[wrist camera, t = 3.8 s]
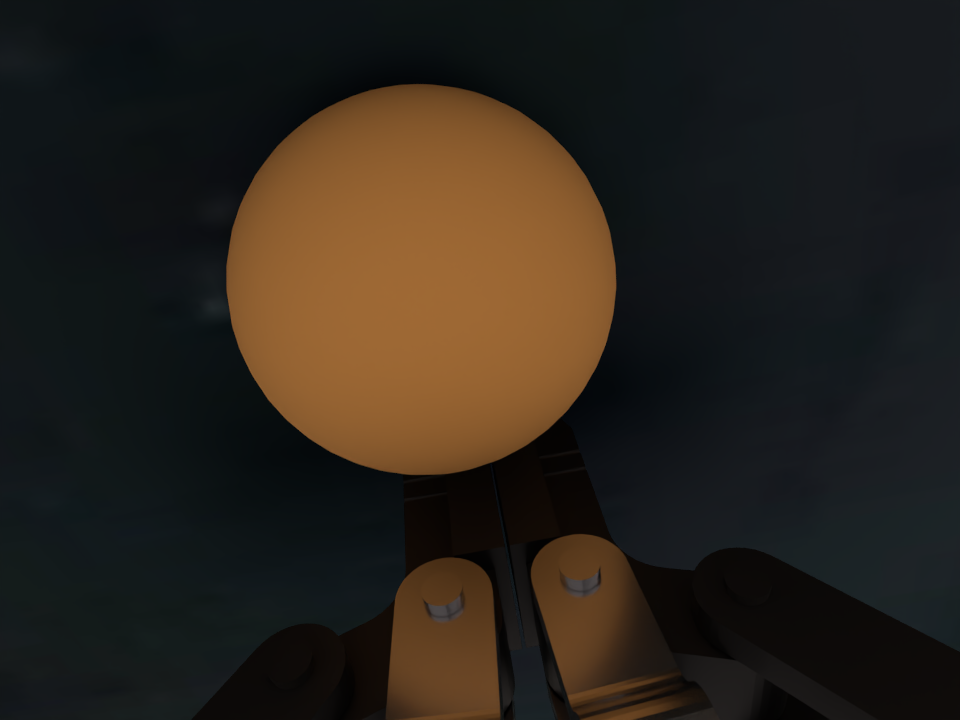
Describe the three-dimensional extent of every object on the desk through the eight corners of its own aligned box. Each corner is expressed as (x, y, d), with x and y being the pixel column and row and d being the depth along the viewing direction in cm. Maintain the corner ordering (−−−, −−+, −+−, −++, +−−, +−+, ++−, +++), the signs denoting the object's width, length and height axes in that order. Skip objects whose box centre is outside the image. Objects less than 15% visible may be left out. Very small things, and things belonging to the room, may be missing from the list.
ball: (314, 518, 11) (283, 233, 12) (625, 460, 11) (560, 183, 12) (157, 488, 6) (134, 31, 8) (707, 386, 6) (587, -54, 8)
